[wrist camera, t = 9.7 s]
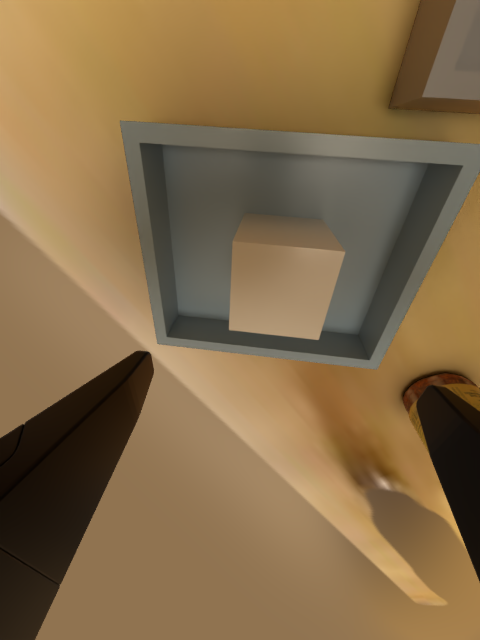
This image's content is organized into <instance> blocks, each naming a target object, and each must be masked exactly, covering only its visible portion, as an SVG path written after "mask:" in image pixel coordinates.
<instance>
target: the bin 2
mask: <svg viewBox="0 0 480 640" xmlns="http://www.w3.org/2000/svg"><path fill="white" fill-rule="evenodd" d="M389 108H392V109H408V110H425V111H442V112H459V113H476V114H480V0H421V3H420V6H419V9H418V13H417V16H416V19H415V22H414V26H413V29H412V32H411V36H410V39H409V42H408V46H407V49H406V52H405V55H404V59H403V62H402V65H401V69H400V72H399V75H398V79H397V82H396V85H395V89H394V92H393V95H392V98H391V102H390V105H389Z"/></svg>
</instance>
